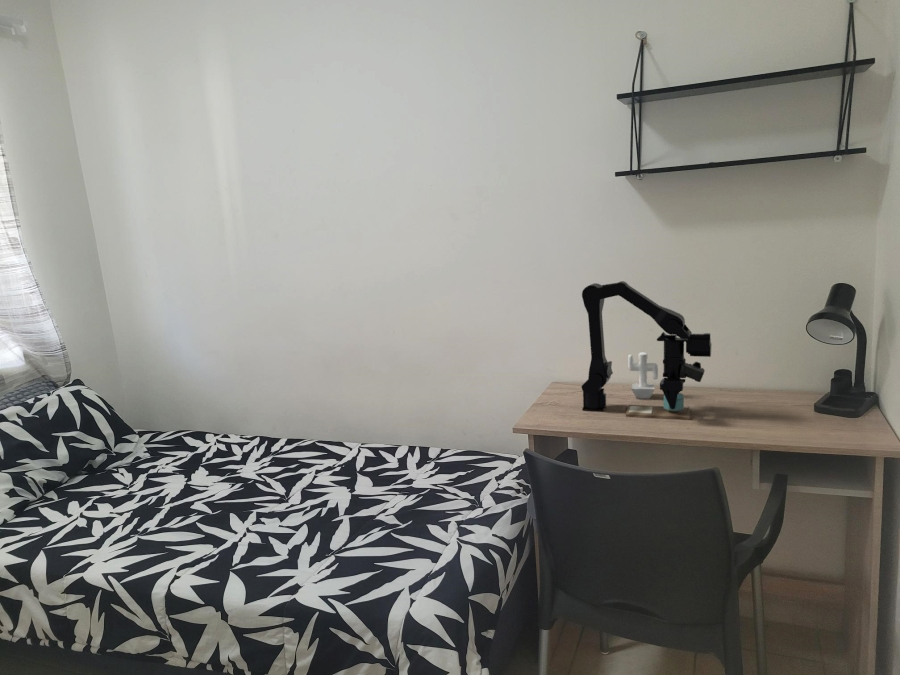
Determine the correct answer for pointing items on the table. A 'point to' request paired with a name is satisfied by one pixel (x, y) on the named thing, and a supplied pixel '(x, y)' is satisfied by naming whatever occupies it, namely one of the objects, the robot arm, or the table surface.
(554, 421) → the table surface
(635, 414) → the board
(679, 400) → the cap
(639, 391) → the figurine
